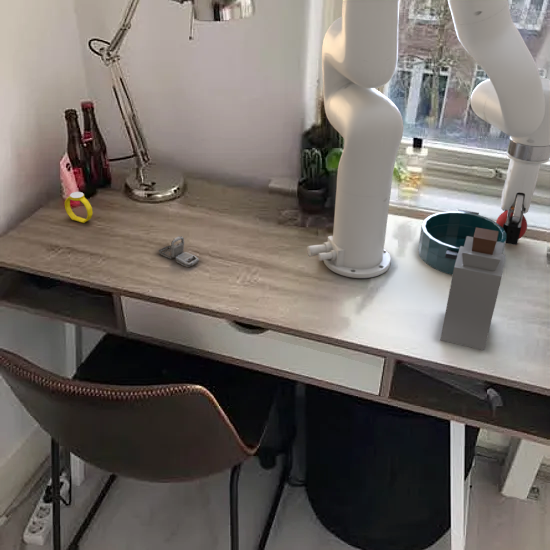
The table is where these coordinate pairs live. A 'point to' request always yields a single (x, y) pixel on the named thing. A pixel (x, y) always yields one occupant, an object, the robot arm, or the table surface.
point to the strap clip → (179, 253)
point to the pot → (451, 236)
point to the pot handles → (452, 253)
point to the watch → (80, 197)
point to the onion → (503, 216)
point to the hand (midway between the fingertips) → (508, 234)
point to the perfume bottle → (474, 290)
